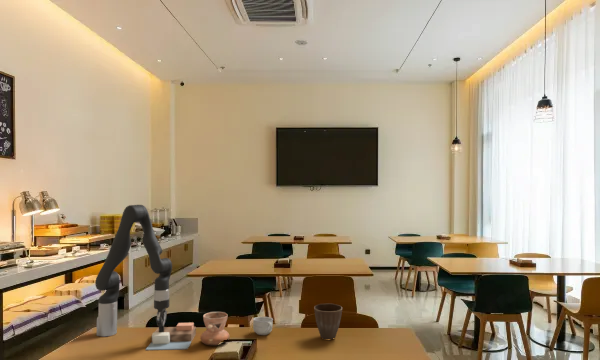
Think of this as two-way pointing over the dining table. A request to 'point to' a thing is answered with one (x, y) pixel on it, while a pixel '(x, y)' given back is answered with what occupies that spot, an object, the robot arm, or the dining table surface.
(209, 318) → the ceramic jug
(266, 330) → the teacup
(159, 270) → the robot arm
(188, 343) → the rubber mat
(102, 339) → the dining table surface
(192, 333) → the walnut stand
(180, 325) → the terracotta block
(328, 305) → the plant pot
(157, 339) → the cream block
